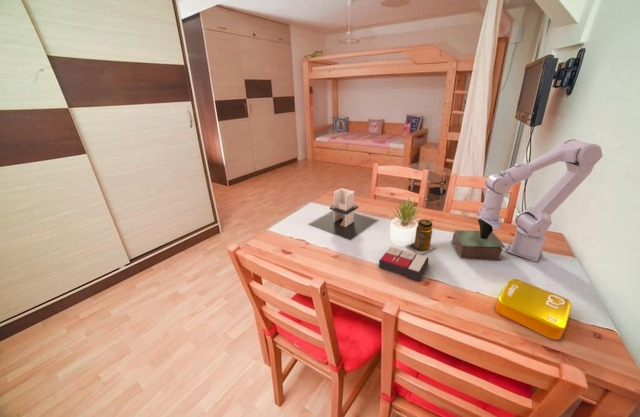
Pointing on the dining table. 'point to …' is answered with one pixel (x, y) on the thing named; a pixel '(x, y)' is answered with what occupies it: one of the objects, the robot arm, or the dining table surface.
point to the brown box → (476, 251)
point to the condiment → (422, 237)
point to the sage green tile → (477, 239)
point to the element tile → (534, 308)
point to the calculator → (404, 263)
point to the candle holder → (343, 217)
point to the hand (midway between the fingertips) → (483, 237)
